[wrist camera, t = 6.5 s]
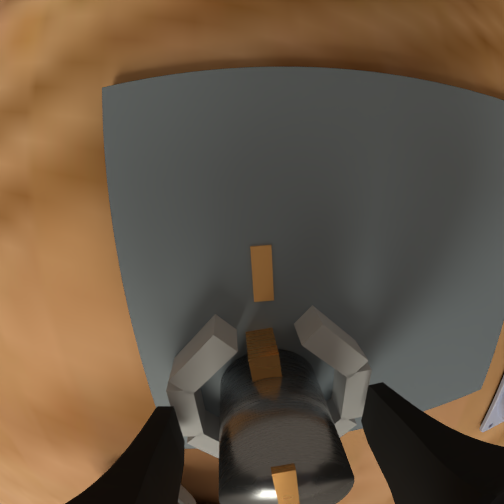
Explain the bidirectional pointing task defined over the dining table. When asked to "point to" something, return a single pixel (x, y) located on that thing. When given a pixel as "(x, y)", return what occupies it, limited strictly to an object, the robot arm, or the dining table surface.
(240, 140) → the hub board
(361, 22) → the dining table surface
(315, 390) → the knob
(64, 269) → the dining table surface
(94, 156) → the dining table surface
